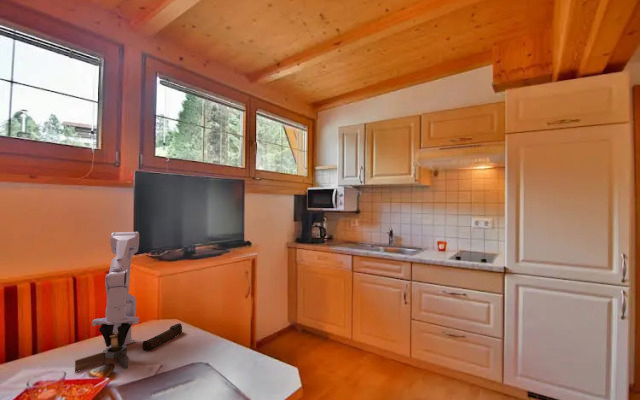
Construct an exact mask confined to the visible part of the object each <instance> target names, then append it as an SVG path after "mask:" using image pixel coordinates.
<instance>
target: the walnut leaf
mask: <svg viewBox="0 0 640 400" xmlns="http://www.w3.org/2000/svg"><path fill="white" fill-rule="evenodd" d="M103 351H104V350H103ZM103 351H101V352H98V353H94V354H92V355H88V356H85V357H81V358H78V359H75V361H74V372H75V373H77V372H80V371H83V370H86V369H89V368H92V367H97V366H99V365H102V364H105V365H106V364H107V363H109V364H115V363H117V357H115V358H104V354H105V351H104V352H103ZM124 355H126V356H127V355H128V351H127V352H126V353H125V354H124ZM127 357H128V356H127ZM79 370H80V371H79ZM76 371H77V372H76Z"/></svg>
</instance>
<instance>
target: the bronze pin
mask: <svg viewBox="0 0 640 400" xmlns="http://www.w3.org/2000/svg"><path fill="white" fill-rule="evenodd" d="M109 337H110V340H111V352H113V351H117V350H121V346H119V333H118V332H113V333H111V334H109Z"/></svg>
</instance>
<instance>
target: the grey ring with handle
mask: <svg viewBox="0 0 640 400" xmlns="http://www.w3.org/2000/svg"><path fill="white" fill-rule="evenodd" d="M104 351H105V354H104V358H115V357H117V362H116V363H117V364H118V365H119V366H120V367H121V368H123V369H124V370H127V369H128V368H129V357H128V356H126V355H124V354H125V353H126V352H127V353H128V346H127V345H122V346H121V350H117V351H113V352H111V347H106V348H105V349H103V350H102V352H104Z"/></svg>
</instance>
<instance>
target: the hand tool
mask: <svg viewBox="0 0 640 400" xmlns="http://www.w3.org/2000/svg"><path fill="white" fill-rule="evenodd" d="M182 333H183V326H182V323H175V324H174V325H171V326H170V327H169V329H167V330H166V331H164V332H163V331H162V332H161V333H159V334H157V335H155V336H153V337H150V338H149V339H146V340H143V341H142V344H141V348H142V351H145V352H150V351H151V350H153V349H154V348H155V347H156V346H158V345H160V344H163V343H164V342H166V341H168V340H170V339H173V338H172V337H175V336H177V335H178V334H179V335H181V334H182ZM179 335H178V336H179ZM178 336H177V337H178ZM175 338H176V337H175Z"/></svg>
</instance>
